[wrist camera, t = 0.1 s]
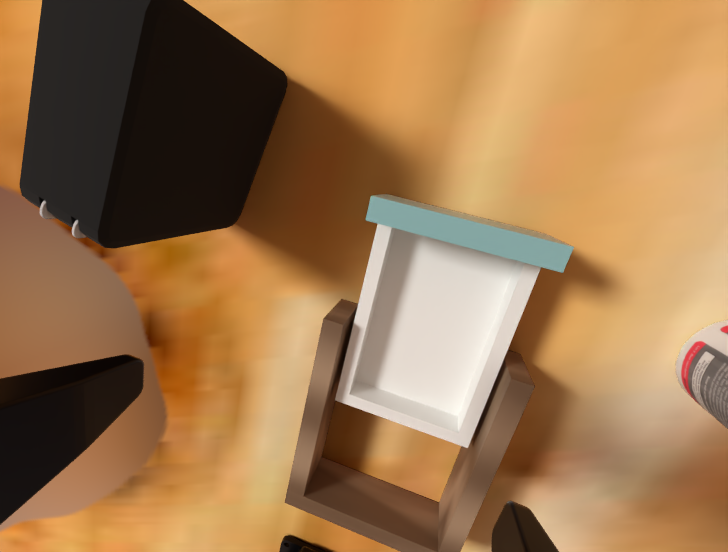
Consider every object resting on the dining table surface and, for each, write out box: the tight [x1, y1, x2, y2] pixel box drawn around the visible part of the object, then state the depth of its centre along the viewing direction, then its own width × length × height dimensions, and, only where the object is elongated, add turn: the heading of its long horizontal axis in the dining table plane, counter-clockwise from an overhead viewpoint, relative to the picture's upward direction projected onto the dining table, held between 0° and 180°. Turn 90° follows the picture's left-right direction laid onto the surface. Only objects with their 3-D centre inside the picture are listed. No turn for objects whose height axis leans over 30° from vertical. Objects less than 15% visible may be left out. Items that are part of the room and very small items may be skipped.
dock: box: [285, 299, 535, 552], centre depth 22 cm, size 14×12×4 cm
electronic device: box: [20, 0, 287, 248], centre depth 17 cm, size 4×10×10 cm, turn 153°
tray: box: [335, 194, 574, 448], centre depth 19 cm, size 13×9×4 cm
